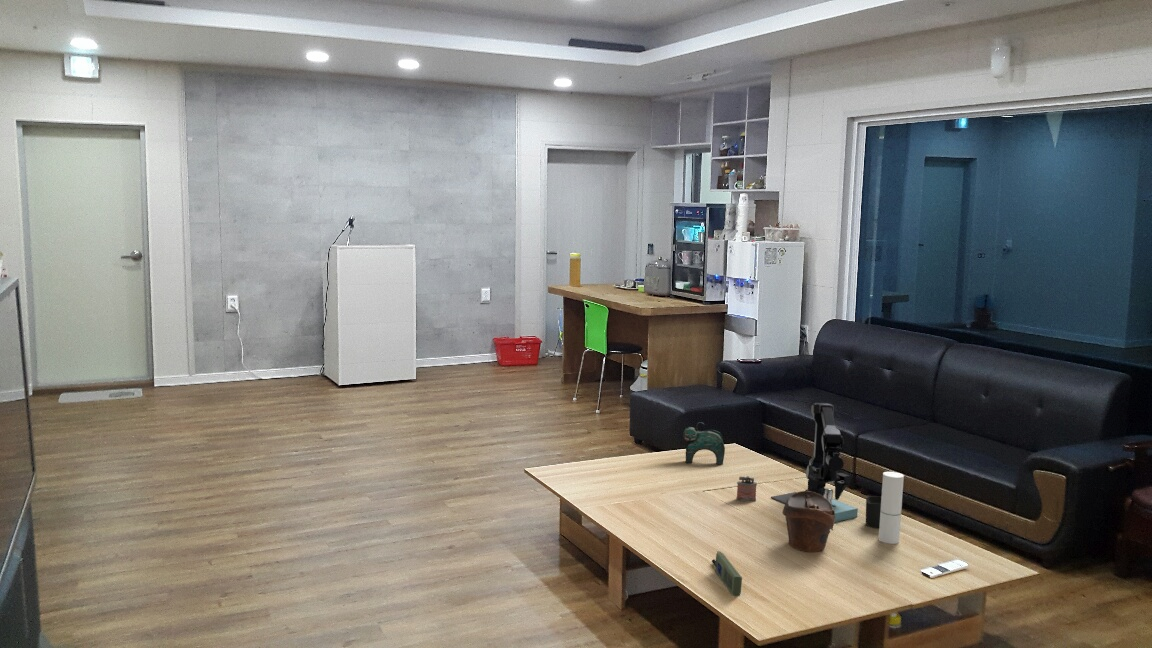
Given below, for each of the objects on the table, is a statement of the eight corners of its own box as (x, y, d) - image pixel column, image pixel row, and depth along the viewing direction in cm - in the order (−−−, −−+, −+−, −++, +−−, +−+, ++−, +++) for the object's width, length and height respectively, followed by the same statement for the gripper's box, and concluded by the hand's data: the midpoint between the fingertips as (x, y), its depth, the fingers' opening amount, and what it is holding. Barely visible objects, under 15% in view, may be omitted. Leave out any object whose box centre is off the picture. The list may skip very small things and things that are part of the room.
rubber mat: (795, 493, 373) (795, 491, 373) (819, 503, 361) (819, 501, 361) (770, 498, 366) (771, 496, 366) (794, 508, 354) (795, 506, 354)
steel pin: (827, 512, 351) (828, 488, 349) (833, 514, 348) (834, 490, 347) (822, 513, 349) (823, 489, 348) (827, 515, 347) (829, 491, 345)
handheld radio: (731, 596, 272) (708, 564, 296) (741, 596, 272) (717, 564, 297) (733, 576, 271) (709, 545, 295) (743, 576, 271) (719, 545, 296)
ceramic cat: (681, 463, 414) (683, 422, 412) (682, 459, 421) (684, 419, 418) (724, 466, 411) (726, 424, 409) (724, 462, 418) (726, 421, 415)
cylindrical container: (898, 538, 324) (903, 473, 321) (899, 544, 317) (904, 478, 314) (878, 535, 326) (883, 470, 323) (878, 542, 319) (883, 476, 316)
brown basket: (807, 559, 301) (811, 509, 299) (769, 540, 319) (772, 492, 317) (846, 552, 310) (849, 503, 308) (807, 533, 327) (810, 487, 325)
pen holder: (891, 523, 339) (893, 498, 338) (889, 531, 331) (890, 505, 330) (866, 519, 343) (867, 494, 342) (863, 526, 335) (864, 501, 334)
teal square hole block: (826, 504, 359) (827, 496, 359) (857, 516, 346) (857, 508, 345) (798, 510, 351) (798, 502, 351) (828, 523, 338) (828, 514, 337)
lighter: (755, 499, 365) (756, 476, 363) (756, 501, 361) (757, 478, 360) (736, 498, 365) (737, 475, 364) (736, 500, 362) (737, 477, 361)
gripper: (832, 455, 357) (829, 492, 359) (798, 461, 348) (796, 499, 350) (853, 462, 348) (850, 500, 350) (819, 468, 339) (817, 507, 341)
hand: (828, 501), depth 348 cm, fingers open, 9 cm apart
